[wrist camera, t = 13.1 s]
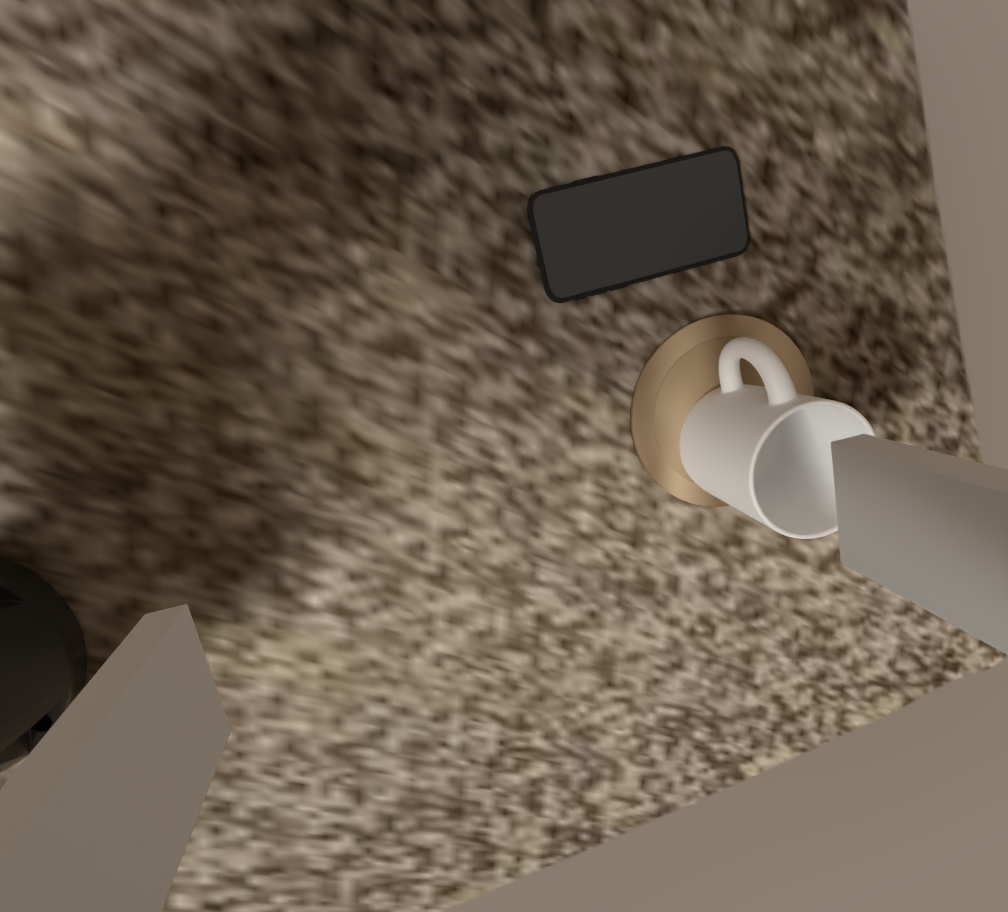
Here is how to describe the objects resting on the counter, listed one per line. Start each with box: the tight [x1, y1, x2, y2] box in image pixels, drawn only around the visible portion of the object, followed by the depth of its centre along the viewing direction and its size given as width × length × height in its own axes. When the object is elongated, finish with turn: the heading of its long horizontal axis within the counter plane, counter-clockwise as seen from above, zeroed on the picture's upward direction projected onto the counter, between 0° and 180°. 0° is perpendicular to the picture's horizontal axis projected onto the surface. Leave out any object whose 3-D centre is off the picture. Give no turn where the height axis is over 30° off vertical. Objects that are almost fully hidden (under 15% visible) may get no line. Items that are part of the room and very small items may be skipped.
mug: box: [679, 337, 876, 539], centre depth 43 cm, size 12×8×10 cm
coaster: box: [630, 315, 814, 507], centre depth 48 cm, size 14×14×1 cm
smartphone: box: [527, 147, 749, 303], centre depth 45 cm, size 7×1×15 cm
